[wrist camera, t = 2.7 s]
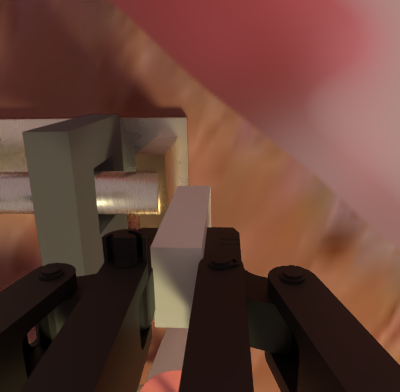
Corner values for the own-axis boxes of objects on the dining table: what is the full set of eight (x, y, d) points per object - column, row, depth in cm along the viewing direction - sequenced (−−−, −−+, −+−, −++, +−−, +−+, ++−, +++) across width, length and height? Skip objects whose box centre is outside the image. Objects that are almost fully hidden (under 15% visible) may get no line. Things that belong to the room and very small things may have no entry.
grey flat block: (99, 231, 26) (47, 297, 18) (88, 114, 24) (21, 131, 16) (128, 232, 26) (87, 298, 18) (119, 114, 24) (68, 131, 16)
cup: (229, 295, 31) (233, 424, 19) (219, 350, 32) (217, 498, 21) (164, 285, 31) (129, 407, 19) (157, 339, 32) (121, 482, 21)
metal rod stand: (-63, 209, 30) (-167, 256, 22) (-84, 119, 28) (-207, 135, 20) (189, 210, 29) (176, 261, 21) (187, 116, 27) (172, 133, 19)
